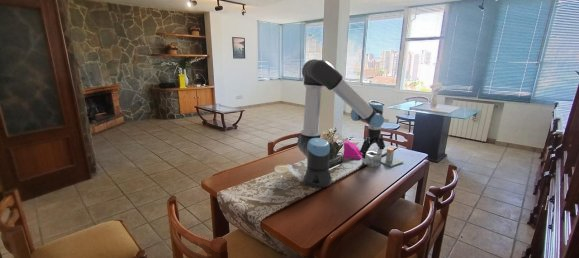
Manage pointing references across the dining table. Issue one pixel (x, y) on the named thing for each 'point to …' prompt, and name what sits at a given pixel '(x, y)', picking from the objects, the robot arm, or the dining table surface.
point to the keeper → (390, 159)
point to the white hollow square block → (373, 159)
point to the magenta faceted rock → (351, 151)
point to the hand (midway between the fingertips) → (371, 160)
